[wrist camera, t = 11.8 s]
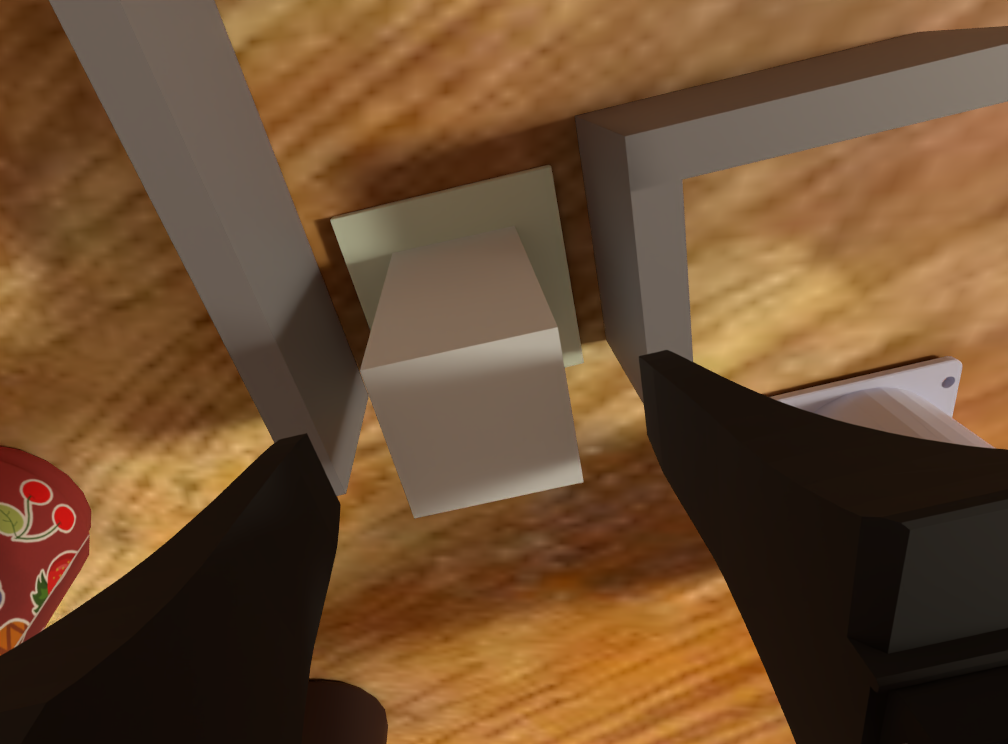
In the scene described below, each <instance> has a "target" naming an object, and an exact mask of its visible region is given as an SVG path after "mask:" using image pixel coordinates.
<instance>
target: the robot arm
mask: <svg viewBox="0 0 1008 744" xmlns="http://www.w3.org/2000/svg"><path fill="white" fill-rule="evenodd" d="M639 365H640V374H641V383H642V392H643V401H644V410H645V418H646V427H647V435H648V438H649V440H650V442H651V445H652V447H653V450H654V452H655V455H656V457H657V459H658V462H659V464H660V466H661V468H662V471H663V473H664V475H665V476H666V478H667V480H668V482H669V483H670V485H671V487H672V488H673V490H674V492H675V494H676V495H677V497H678V499H679V500H680V502H681V504H682V505H683V507H684V509H685V510H686V512H687V514H688V515H689V517H690V519H691V520H692V522H693V524H694V525H695V527H696V529H697V530H698V532H699V534H700V536H701V537H702V539H703V541H704V542H705V544H706V546H707V547H708V549H709V551H710V552H711V554H712V556H713V558H714V559H715V561H716V563H717V565H718V567H719V569H720V571H721V572H722V574H723V576H724V579H725V581H726V583H727V585H728V587H729V589H730V592H731V594H732V596H733V598H734V600H735V602H736V605H737V607H738V609H739V611H740V613H741V615H742V618H743V620H744V622H745V624H746V627H747V629H748V631H749V633H750V636H751V638H752V640H753V642H754V645H755V647H756V649H757V652H758V654H759V656H760V658H761V661H762V663H763V665H764V667H765V670H766V672H767V675H768V677H769V679H770V682H771V684H772V686H773V689H774V691H775V694H776V696H777V698H778V701H779V703H780V705H781V708H782V710H783V713H784V715H785V717H786V720H787V722H788V724H789V727H790V729H791V732H792V734H793V737H794V739H795V742H796V744H1008V450H1006V449H996V448H994V447H993V446H991V445H990V444H988V443H987V442H986V441H984V440H983V439H981V438H980V437H978V436H977V435H976V434H974V433H973V432H971V431H970V430H968V429H967V428H966V427H964V426H963V425H961V424H960V423H958V422H957V421H956V420H954V419H953V418H952V415H953V410H954V405H955V400H956V396H957V391H958V386H959V381H960V376H961V371H962V363H961V362H960V361H959V360H957V359H955V358H954V357H951V356H946V357H941V358H937V359H932V360H928V361H924V362H919V363H915V364H911V365H906V366H902V367H898V368H893V369H889V370H885V371H880V372H876V373H872V374H867V375H863V376H859V377H854V378H850V379H846V380H841V381H837V382H833V383H828V384H824V385H819V386H815V387H811V388H806V389H802V390H798V391H793V392H789V393H785V394H780V395H776V396H772V397H767V396H765V395H762V394H760V393H757V392H755V391H753V390H750V389H748V388H746V387H743V386H741V385H739V384H737V383H735V382H732V381H730V380H728V379H726V378H724V377H722V376H720V375H718V374H716V373H714V372H712V371H710V370H708V369H706V368H704V367H702V366H700V365H698V364H696V363H694V362H692V361H690V360H688V359H686V358H684V357H682V356H680V355H678V354H676V353H674V352H671V351H669V350H663V351H659V352H655V353H650V354H646V355H642V356H639ZM944 379H945V380H944ZM943 380H944V381H943ZM339 521H340V502H339V500H338V498H337V496H336V494H335V492H334V490H333V488H332V485H331V483H330V481H329V479H328V477H327V475H326V473H325V470H324V468H323V466H322V464H321V462H320V460H319V458H318V456H317V453H316V451H315V449H314V447H313V445H312V443H311V441H310V439H309V436H308V434H307V433H305V434H301V435H296V436H292V437H288V438H283V439H279V440H278V441H277V442H275V443H274V444H273V445H272V446H270V447H269V448H268V449H267V450H266V451H265V452H264V453H263V454H261V455H260V456H259V457H258V458H257V459H256V460H255V461H254V462H253V463H252V464H251V465H250V466H249V467H248V468H247V469H246V470H245V471H244V472H243V473H242V474H241V475H240V476H238V477H237V478H236V479H235V480H234V481H233V482H232V483H231V484H230V485H229V486H228V487H227V488H226V489H225V490H224V491H223V492H222V493H221V494H220V495H219V496H218V497H217V498H216V499H215V500H213V501H212V502H211V503H210V504H209V505H208V506H207V507H206V508H205V509H204V510H202V511H201V512H200V513H199V514H198V515H197V516H196V517H195V518H194V519H192V520H191V521H190V522H189V523H188V524H187V525H186V526H185V527H184V528H182V529H181V530H180V531H179V532H178V533H177V534H176V535H175V536H174V537H172V538H171V539H170V540H169V541H168V542H166V543H165V544H164V545H163V546H162V547H160V548H159V549H158V550H157V551H155V552H154V553H153V554H152V555H150V556H149V557H148V558H147V559H145V560H144V561H143V562H141V563H140V564H139V565H137V566H136V567H135V568H134V569H132V570H131V571H130V572H128V573H127V574H126V575H124V576H123V577H122V578H120V579H119V580H118V581H116V582H115V583H113V584H112V585H110V586H109V587H108V588H106V589H105V590H103V591H102V592H100V593H99V594H97V595H96V596H94V597H93V598H91V599H90V600H88V601H87V602H86V603H84V604H83V605H81V606H80V607H78V608H77V609H75V610H74V611H72V612H71V613H69V614H68V615H66V616H65V617H63V618H62V619H60V620H59V621H57V622H56V623H54V624H52V625H51V626H49V627H48V628H46V629H44V630H43V631H41V632H39V633H38V634H36V635H35V636H33V637H31V638H30V639H28V640H26V641H25V642H23V643H21V644H19V645H18V646H16V647H14V648H13V649H11V650H9V651H8V652H6V653H4V654H2V655H1V656H0V744H301V743H302V733H303V723H304V713H305V705H306V697H307V689H308V681H309V673H310V665H311V660H312V655H313V649H314V644H315V640H316V636H317V631H318V627H319V623H320V619H321V615H322V610H323V606H324V602H325V598H326V594H327V589H328V585H329V581H330V577H331V572H332V568H333V563H334V559H335V554H336V550H337V543H338V533H339Z"/></svg>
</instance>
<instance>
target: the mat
mask: <svg viewBox="0 0 1008 744" xmlns="http://www.w3.org/2000/svg"><path fill="white" fill-rule="evenodd" d="M330 221H331V224H332V227H333V229H334V232H335V235H336V238H337V240H338V243H339V246H340V249H341V251H342V254H343V257H344V260H345V262H346V265H347V268H348V271H349V273H350V276H351V279H352V281H353V284H354V287H355V290H356V292H357V295H358V298H359V301H360V303H361V306H362V309H363V312H364V314H365V317H366V320H367V323H368V325H369V328H370V331H371V329H372V325H373V322H374V318H375V314H376V311H377V307H378V304H379V300H380V296H381V293H382V289H383V286H384V282H385V278H386V275H387V271H388V268H389V264H390V260H391V257H392V253H394V252H399V251H403V250H408V249H412V248H417V247H421V246H426V245H430V244H435V243H439V242H444V241H448V240H453V239H457V238H462V237H466V236H471V235H475V234H480V233H484V232H489V231H493V230H498V229H502V228H507V227H511V226H515V228H516V230H517V233H518V235H519V237H520V240H521V242H522V244H523V247H524V249H525V251H526V254H527V256H528V258H529V261H530V263H531V265H532V268H533V270H534V273H535V275H536V277H537V280H538V282H539V284H540V287H541V289H542V291H543V294H544V296H545V298H546V301H547V303H548V305H549V308H550V310H551V313H552V315H553V317H554V320H555V322H556V324H557V327H558V332H559V338H560V344H561V350H562V356H563V362H564V368H565V367H569V366H573V365H577V364H582V363H584V360H583V354H582V348H581V342H580V336H579V330H578V324H577V318H576V312H575V306H574V300H573V294H572V288H571V282H570V276H569V270H568V264H567V258H566V252H565V246H564V240H563V234H562V228H561V222H560V216H559V210H558V204H557V198H556V192H555V186H554V180H553V174H552V168H551V166H550V165H545V166H541V167H537V168H533V169H529V170H525V171H520V172H516V173H512V174H508V175H504V176H500V177H496V178H491V179H487V180H483V181H479V182H475V183H471V184H467V185H463V186H458V187H454V188H450V189H446V190H442V191H438V192H434V193H429V194H425V195H421V196H417V197H413V198H409V199H405V200H401V201H396V202H392V203H388V204H384V205H380V206H376V207H372V208H367V209H363V210H359V211H355V212H351V213H347V214H343V215H339V216H334V217H332V218H331V220H330Z"/></svg>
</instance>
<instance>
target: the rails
mask: <svg viewBox="0 0 1008 744" xmlns="http://www.w3.org/2000/svg"><path fill="white" fill-rule="evenodd" d="M49 1H50V3H51V5H52V7H53V9H54V11H55V13H56V15H57V17H58V19H59V21H60V23H61V25H62V27H63V29H64V31H65V33H66V35H67V37H68V39H69V41H70V43H71V45H72V47H73V49H74V51H75V52H76V54H77V56H78V58H79V60H80V62H81V64H82V66H83V68H84V70H85V72H86V74H87V76H88V78H89V80H90V82H91V84H92V86H93V88H94V90H95V92H96V94H97V96H98V98H99V100H100V101H101V103H102V105H103V107H104V109H105V111H106V113H107V115H108V117H109V119H110V121H111V123H112V125H113V127H114V129H115V131H116V133H117V135H118V137H119V139H120V141H121V143H122V145H123V147H124V149H125V150H126V152H127V154H128V156H129V158H130V160H131V162H132V164H133V166H134V168H135V170H136V172H137V174H138V176H139V178H140V180H141V182H142V184H143V186H144V188H145V190H146V192H147V194H148V196H149V198H150V200H151V201H152V203H153V205H154V207H155V209H156V211H157V213H158V215H159V217H160V219H161V221H162V223H163V225H164V227H165V229H166V231H167V233H168V235H169V237H170V239H171V241H172V243H173V245H174V247H175V249H176V250H177V252H178V254H179V256H180V258H181V260H182V262H183V264H184V266H185V268H186V270H187V272H188V274H189V276H190V278H191V280H192V282H193V284H194V286H195V288H196V290H197V292H198V294H199V296H200V298H201V299H202V301H203V303H204V305H205V307H206V309H207V311H208V313H209V315H210V317H211V319H212V321H213V323H214V325H215V327H216V329H217V331H218V333H219V335H220V337H221V339H222V341H223V343H224V345H225V347H226V349H227V350H228V352H229V354H230V356H231V358H232V360H233V362H234V364H235V366H236V368H237V370H238V372H239V374H240V376H241V378H242V380H243V382H244V384H245V386H246V388H247V390H248V392H249V394H250V396H251V398H252V399H253V401H254V403H255V405H256V407H257V409H258V411H259V413H260V415H261V417H262V419H263V421H264V423H265V425H266V427H267V429H268V431H269V433H270V435H271V437H272V439H273V441H274V443H275V442H277V441H278V440H279V439H283V438H288V437H292V436H296V435H301V434H305V433H307V434H308V436H309V439H310V441H311V443H312V445H313V447H314V449H315V451H316V453H317V456H318V458H319V460H320V462H321V464H322V466H323V468H324V470H325V473H326V475H327V477H328V479H329V481H330V483H331V485H332V488H333V490H334V492H335V494H336V496H339V495H343V494H346V491H347V487H348V483H349V478H350V474H351V470H352V465H353V461H354V457H355V452H356V448H357V444H358V439H359V435H360V431H361V426H362V422H363V418H364V413H365V409H366V405H367V400H368V393H367V390H366V388H365V385H364V383H363V380H362V378H361V375H360V372H359V370H358V367H357V365H356V362H355V360H354V357H353V355H352V352H351V349H350V347H349V344H348V342H347V339H346V337H345V334H344V331H343V329H342V326H341V324H340V321H339V319H338V316H337V314H336V311H335V308H334V306H333V303H332V301H331V298H330V296H329V293H328V290H327V288H326V285H325V283H324V280H323V278H322V275H321V273H320V270H319V267H318V265H317V262H316V260H315V257H314V255H313V252H312V250H311V247H310V244H309V242H308V239H307V237H306V234H305V232H304V229H303V226H302V224H301V221H300V219H299V216H298V214H297V211H296V209H295V206H294V203H293V201H292V198H291V196H290V193H289V191H288V188H287V185H286V183H285V180H284V178H283V175H282V173H281V170H280V168H279V165H278V162H277V160H276V157H275V155H274V152H273V150H272V147H271V145H270V142H269V139H268V137H267V134H266V132H265V129H264V127H263V124H262V121H261V119H260V116H259V114H258V111H257V109H256V106H255V104H254V101H253V98H252V96H251V93H250V91H249V88H248V86H247V83H246V80H245V78H244V75H243V73H242V70H241V68H240V65H239V63H238V60H237V57H236V55H235V52H234V50H233V47H232V45H231V42H230V39H229V37H228V34H227V32H226V29H225V27H224V24H223V22H222V19H221V16H220V14H219V11H218V9H217V6H216V4H215V1H214V0H49ZM1007 101H1008V26H1002V27H987V28H972V29H956V30H941V31H926V32H917V33H913V34H909V35H905V36H901V37H897V38H892V39H888V40H884V41H880V42H876V43H872V44H868V45H864V46H860V47H855V48H851V49H847V50H843V51H839V52H835V53H831V54H827V55H823V56H819V57H814V58H810V59H806V60H802V61H798V62H794V63H790V64H786V65H782V66H777V67H773V68H769V69H765V70H761V71H757V72H753V73H749V74H745V75H741V76H736V77H732V78H728V79H724V80H720V81H716V82H712V83H708V84H704V85H700V86H695V87H691V88H687V89H683V90H679V91H675V92H671V93H667V94H663V95H658V96H654V97H650V98H646V99H642V100H638V101H634V102H630V103H626V104H622V105H617V106H613V107H609V108H605V109H601V110H597V111H593V112H589V113H585V114H580V115H576V116H575V122H576V129H577V136H578V143H579V150H580V157H581V164H582V172H583V179H584V186H585V193H586V200H587V207H588V214H589V221H590V228H591V235H592V242H593V249H594V256H595V263H596V271H597V278H598V285H599V292H600V299H601V306H602V313H603V320H604V327H605V334H606V340H607V342H608V344H609V346H610V347H611V349H612V351H613V352H614V354H615V356H616V358H617V359H618V361H619V363H620V364H621V366H622V368H623V370H624V371H625V373H626V375H627V377H628V378H629V380H630V382H631V383H632V385H633V387H634V389H635V390H636V392H637V394H638V395H639V397H640V399H641V401H642V402H643V404H644V401H643V392H642V383H641V374H640V365H639V356H642V355H646V354H650V353H655V352H659V351H663V350H669V351H671V352H674V353H676V354H678V355H680V356H682V357H684V358H686V359H688V360H690V361H692V362H693V352H692V335H691V318H690V302H689V285H688V268H687V251H686V234H685V217H684V201H683V184H682V179H686V178H690V177H695V176H699V175H703V174H707V173H711V172H715V171H720V170H724V169H728V168H732V167H736V166H740V165H745V164H749V163H753V162H757V161H761V160H765V159H770V158H774V157H778V156H782V155H786V154H790V153H795V152H799V151H803V150H807V149H811V148H815V147H820V146H824V145H828V144H832V143H836V142H840V141H845V140H849V139H853V138H857V137H861V136H866V135H870V134H874V133H878V132H882V131H886V130H891V129H895V128H899V127H903V126H907V125H911V124H916V123H920V122H924V121H928V120H932V119H936V118H941V117H945V116H949V115H953V114H957V113H961V112H966V111H970V110H974V109H978V108H982V107H986V106H991V105H995V104H999V103H1003V102H1007Z"/></svg>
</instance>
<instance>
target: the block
mask: <svg viewBox="0 0 1008 744" xmlns="http://www.w3.org/2000/svg"><path fill="white" fill-rule="evenodd" d="M360 372H361V375H362V378H363V381H364V383H365V386H366V389H367V391H368V394H369V397H370V400H371V402H372V405H373V408H374V410H375V413H376V416H377V418H378V421H379V424H380V427H381V429H382V432H383V435H384V437H385V440H386V443H387V446H388V448H389V451H390V454H391V456H392V459H393V462H394V465H395V467H396V470H397V473H398V475H399V478H400V481H401V484H402V486H403V489H404V492H405V494H406V497H407V500H408V502H409V505H410V508H411V511H412V513H413V516H414V519H415V518H419V517H424V516H428V515H433V514H438V513H442V512H447V511H452V510H456V509H461V508H466V507H470V506H475V505H480V504H484V503H489V502H494V501H498V500H503V499H508V498H512V497H517V496H521V495H526V494H531V493H535V492H540V491H545V490H549V489H554V488H559V487H563V486H568V485H573V484H577V483H582V482H584V481H583V475H582V469H581V463H580V457H579V452H578V446H577V440H576V434H575V428H574V422H573V416H572V410H571V404H570V398H569V392H568V386H567V380H566V374H565V368H564V362H563V356H562V350H561V344H560V338H559V332H558V327H557V324H556V322H555V320H554V317H553V315H552V313H551V310H550V308H549V305H548V303H547V301H546V298H545V296H544V294H543V291H542V289H541V287H540V284H539V282H538V280H537V277H536V275H535V273H534V270H533V268H532V265H531V263H530V261H529V258H528V256H527V254H526V251H525V249H524V247H523V244H522V242H521V240H520V237H519V235H518V233H517V230H516V228H515V226H511V227H507V228H502V229H498V230H493V231H489V232H484V233H480V234H475V235H471V236H466V237H462V238H457V239H453V240H448V241H444V242H439V243H435V244H430V245H426V246H421V247H417V248H412V249H408V250H403V251H399V252H394V253H392V257H391V260H390V264H389V268H388V271H387V275H386V278H385V282H384V286H383V289H382V293H381V296H380V300H379V304H378V307H377V311H376V314H375V318H374V322H373V325H372V329H371V332H370V336H369V340H368V343H367V347H366V350H365V354H364V358H363V361H362V365H361V368H360Z"/></svg>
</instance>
